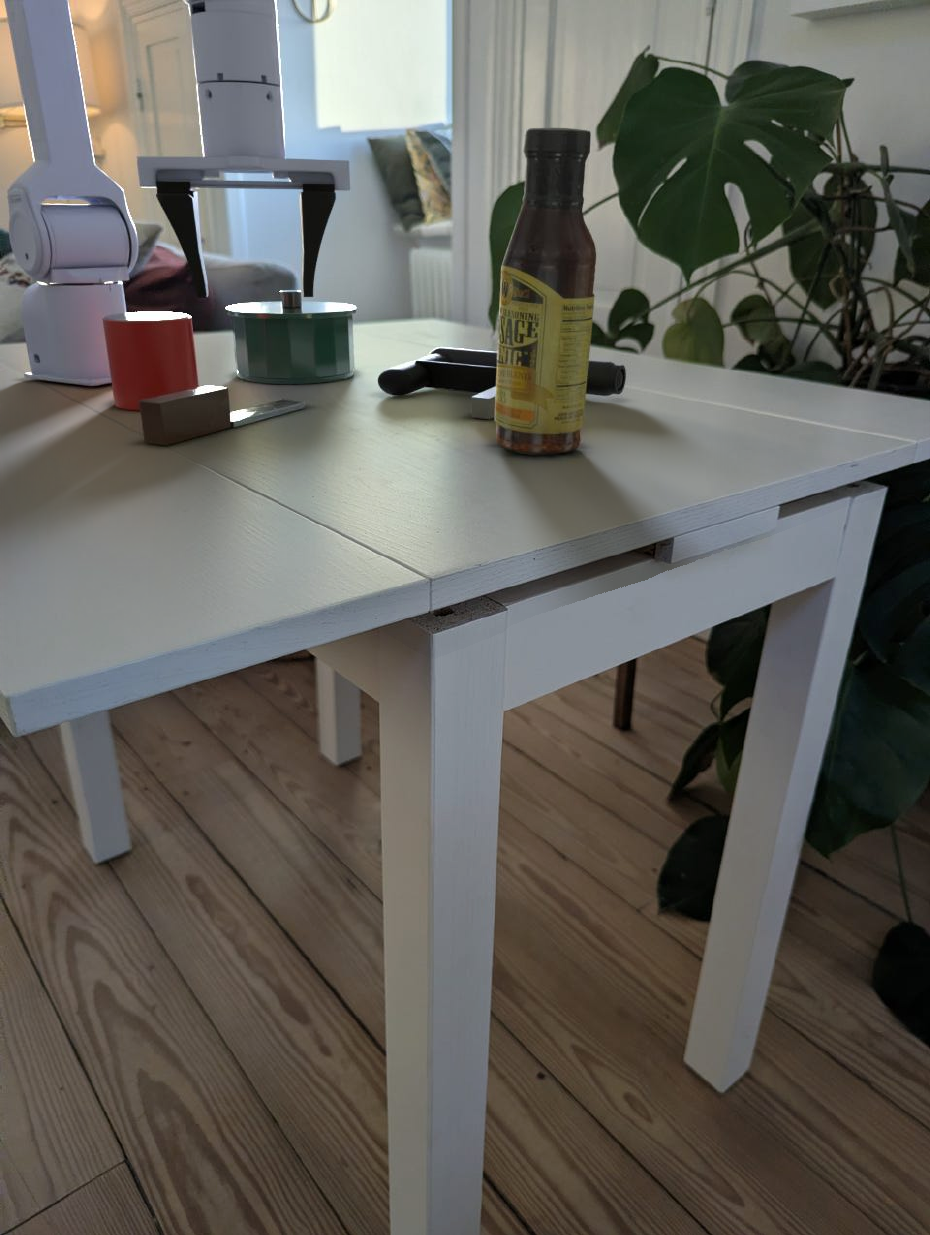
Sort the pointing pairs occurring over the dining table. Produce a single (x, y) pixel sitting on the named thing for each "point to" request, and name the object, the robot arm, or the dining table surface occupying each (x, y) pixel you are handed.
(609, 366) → the door handle
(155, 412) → the knife
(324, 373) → the pot
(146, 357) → the can
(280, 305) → the pot lid
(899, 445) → the dining table surface
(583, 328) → the sauce bottle
